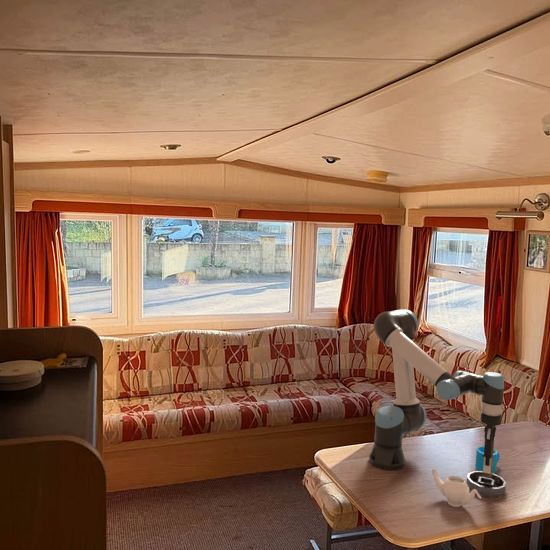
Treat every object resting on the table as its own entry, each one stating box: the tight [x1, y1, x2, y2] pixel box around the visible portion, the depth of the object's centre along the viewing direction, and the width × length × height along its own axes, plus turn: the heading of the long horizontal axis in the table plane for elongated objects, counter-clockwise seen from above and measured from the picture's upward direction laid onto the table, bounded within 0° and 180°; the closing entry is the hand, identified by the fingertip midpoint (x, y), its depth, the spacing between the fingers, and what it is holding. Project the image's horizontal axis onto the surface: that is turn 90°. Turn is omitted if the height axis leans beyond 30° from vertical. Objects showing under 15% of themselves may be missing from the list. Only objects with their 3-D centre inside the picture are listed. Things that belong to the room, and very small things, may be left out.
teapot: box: [431, 469, 482, 508], centre depth 198 cm, size 10×20×9 cm, turn 42°
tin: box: [466, 470, 507, 498], centre depth 211 cm, size 14×14×4 cm
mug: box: [475, 446, 500, 474], centre depth 228 cm, size 12×8×8 cm
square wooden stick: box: [483, 441, 495, 477], centre depth 209 cm, size 3×3×13 cm
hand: (487, 470), depth 210 cm, fingers closed on square wooden stick, 3 cm apart
